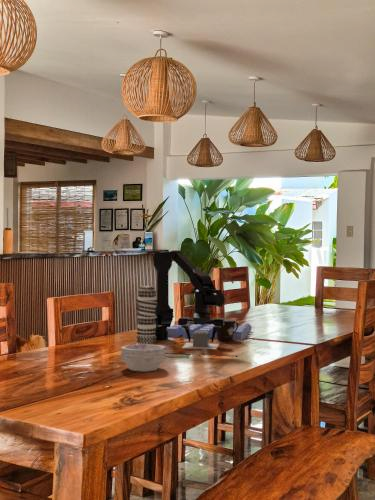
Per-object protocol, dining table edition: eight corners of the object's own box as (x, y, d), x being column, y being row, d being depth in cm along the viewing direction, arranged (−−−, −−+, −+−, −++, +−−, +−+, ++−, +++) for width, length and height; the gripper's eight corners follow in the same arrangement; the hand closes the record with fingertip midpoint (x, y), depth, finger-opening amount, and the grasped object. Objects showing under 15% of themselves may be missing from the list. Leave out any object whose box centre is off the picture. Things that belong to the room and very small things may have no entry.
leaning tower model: (154, 346, 273) (155, 287, 273) (133, 345, 275) (133, 286, 275) (159, 343, 282) (160, 285, 282) (139, 342, 284) (139, 285, 284)
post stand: (181, 350, 263) (182, 338, 263) (186, 345, 277) (186, 333, 277) (216, 352, 262) (216, 339, 262) (219, 346, 276) (219, 334, 275)
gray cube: (192, 346, 267) (193, 331, 267) (194, 344, 273) (194, 329, 273) (207, 347, 266) (207, 332, 266) (208, 344, 272) (209, 330, 272)
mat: (159, 356, 250) (159, 354, 250) (164, 351, 261) (164, 349, 261) (188, 357, 248) (188, 355, 248) (191, 352, 259) (191, 350, 259)
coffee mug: (218, 344, 281) (219, 321, 281) (212, 341, 290) (212, 319, 290) (244, 343, 284) (244, 320, 284) (237, 340, 293) (237, 318, 293)
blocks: (165, 338, 300) (165, 328, 299) (184, 329, 333) (184, 319, 333) (241, 342, 291) (241, 331, 291) (252, 332, 325) (252, 322, 325)
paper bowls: (142, 363, 236) (142, 341, 235) (174, 369, 226) (174, 346, 226) (111, 369, 224) (111, 346, 224) (144, 375, 214) (144, 351, 214)
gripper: (176, 306, 262) (175, 344, 263) (222, 307, 260) (222, 346, 260) (180, 303, 274) (179, 340, 274) (224, 304, 271) (224, 342, 271)
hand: (201, 342), depth 269 cm, fingers open, 9 cm apart
